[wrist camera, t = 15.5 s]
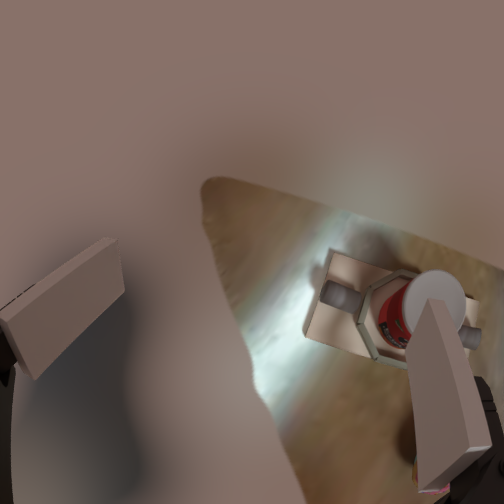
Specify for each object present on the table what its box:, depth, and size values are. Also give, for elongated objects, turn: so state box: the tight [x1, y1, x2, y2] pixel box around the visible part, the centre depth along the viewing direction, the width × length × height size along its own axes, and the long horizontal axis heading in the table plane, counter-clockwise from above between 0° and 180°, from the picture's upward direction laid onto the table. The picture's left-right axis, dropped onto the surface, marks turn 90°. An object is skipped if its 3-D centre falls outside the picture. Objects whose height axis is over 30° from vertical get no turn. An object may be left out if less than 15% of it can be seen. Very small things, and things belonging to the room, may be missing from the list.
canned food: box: [378, 269, 466, 349], centre depth 32 cm, size 8×8×11 cm
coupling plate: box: [305, 253, 481, 370], centre depth 36 cm, size 24×13×5 cm, turn 68°
